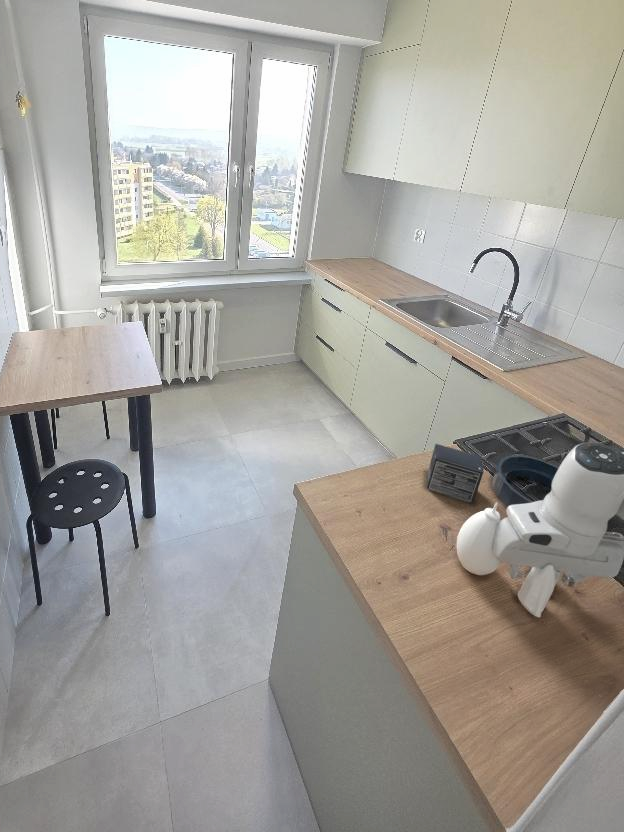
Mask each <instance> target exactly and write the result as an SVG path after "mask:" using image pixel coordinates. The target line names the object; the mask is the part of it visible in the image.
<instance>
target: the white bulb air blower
mask: <svg viewBox="0 0 624 832" xmlns="http://www.w3.org/2000/svg"><path fill="white" fill-rule="evenodd" d="M497 507H498V502H497V501H496V502H495V503H494V505H493V508H492V507H486V508H485V509H484V510H481V511H479V512H476V513H474V514H473V515H471V516H470V517H469V518H468V519H467V520H466V521H465V522H464V523H463V525H461V528H460V530H459V532H458V535H457V538H456V554H457V557H458V560H459V563H460V565H461V566H462V567H463V568H464V569H465V570H466V571H467V572H469V573H471V574H473V575H476V576H486V575H489V574H491V573H494V572H495V571H496V570H497V569H498V567H500V565H501V563H502V562H499V561H498V559H497V558H496V556H495V555H494V553H493V551H492V544H493V539H494V534H495V529H496V527H497V525H498V524H499V522H500V521H501V520H502V519H501V514H500V512H499V511H498V510H497Z"/></svg>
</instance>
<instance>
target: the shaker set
mask: <svg viewBox="0 0 624 832" xmlns="http://www.w3.org/2000/svg"><path fill="white" fill-rule="evenodd" d="M562 573H563V572H562V571H555V570H554V567H553V565H551V564H548V565H546V566H545V567H544V568H543V569H542V568H535V567H531V569H530V571H529V572H528V573H527V575H526V577H525V579H524V580H523V583H522V584H521V587H520V589H519V591H518V592H517V598H518V600H519V602H520V603H521V605H522V606H523V608H524V609H525V610H527V612H529V613H530V614H531V615H533V616H534V617H536V618H541V617H542V612H543V611H544V609H545V608H546V606H547V604H548V602H549V601H550V598H551V597H552V595H553V592H554V589H555V587H556V584H557V582H558V581H559V579H560V577H561V576H562V575H561V574H562Z"/></svg>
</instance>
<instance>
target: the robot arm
mask: <svg viewBox="0 0 624 832" xmlns="http://www.w3.org/2000/svg"><path fill="white" fill-rule="evenodd" d="M558 467H559V468H558V470H557V472H556V474H555V476H554V478H553V480H552V489H551V488H550V492H548V493H547V494H546V495H545V496H544V498H543V499H542V500H541V499H540V500H536V501H533V502H532V503H525V504H515V505H510V506H508V508H507V507H506V510H505V511H506V512H505V513H506V515H507V516H506V517H504V518H502V519H500V520H501V521H500V522H499V524H498V525H497V527H496V529H495V534H494V539H493V544H492V551H493V553H494V555H495V556H496V558H497V559H498V561H499V562H501V563H502V564H509V567H508V574H509V575H510V577H511V578H512V579H518V580H521V579H522V577H523V575H524V572H523V570H522V569H521V567H522V566H523V567H530V568H532V567H535V568H542V569H543V568H544V567H545V566H546V565H548V564H551V565H553V567H554V570H555V571H562V572H561V573H562V575H561V581H562V582H563V584H564V586H565V587H570V588H576V587H577V585H578V583H581V582H583V581H585V580H587V579H589V578H590V577H596V578H602V579H612V578H615V577H616V576H618V574H619V572H620V571H621V568H622V566H623V563H624V535H623V534H622V533H620V532H615V531H612V532H611V531H608V522H609V520H610V519H612V518H613V517H615V515H616V516H617V517H618V518H619V519H621V520H622V521H623V522H624V451H621V450H619V449H617V448H615V447H613V446H610V445H607V444H603V443H599V442H589V441H588V442H581V443H579V444H577V445H575V446H574V447H573V448H572V449H570V451H569V452H568V453H567V454H566V456H565V457H564V458H563V460H562V462H561V463H560V465H559V466H558Z"/></svg>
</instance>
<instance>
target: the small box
mask: <svg viewBox="0 0 624 832" xmlns="http://www.w3.org/2000/svg"><path fill="white" fill-rule="evenodd" d="M484 473H485V470H484V462H483V457H482V456H481V455H478V454H474V453H471V452H467V451H464V450H460V449H456V448H454V447H449V446H446V445H442V444H439V443H435V444H434V448H433V451H432V455H431V459H430V462H429V467H428V470H427V473H426V489H427V490H429V491H433V492H436V493H439V494H442V495H445V496H447V497H451V498H454V499H457V500H460V501H464V502H466V503H470V504H475V503H474V502H475V498H476V496H477V493H478V490H479V488H480V484H481V481H482V478H483V475H484Z"/></svg>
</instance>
